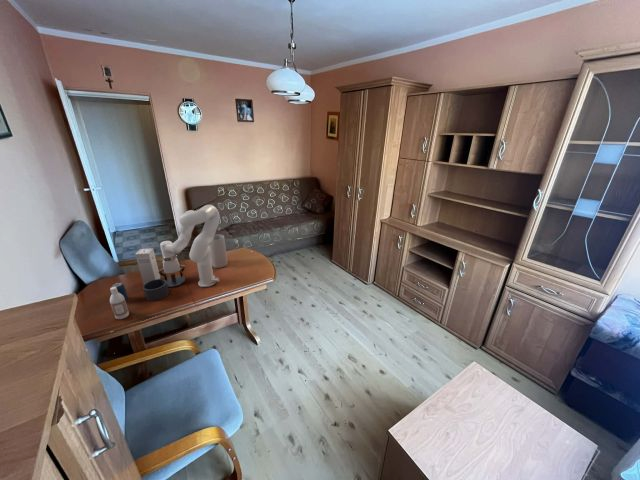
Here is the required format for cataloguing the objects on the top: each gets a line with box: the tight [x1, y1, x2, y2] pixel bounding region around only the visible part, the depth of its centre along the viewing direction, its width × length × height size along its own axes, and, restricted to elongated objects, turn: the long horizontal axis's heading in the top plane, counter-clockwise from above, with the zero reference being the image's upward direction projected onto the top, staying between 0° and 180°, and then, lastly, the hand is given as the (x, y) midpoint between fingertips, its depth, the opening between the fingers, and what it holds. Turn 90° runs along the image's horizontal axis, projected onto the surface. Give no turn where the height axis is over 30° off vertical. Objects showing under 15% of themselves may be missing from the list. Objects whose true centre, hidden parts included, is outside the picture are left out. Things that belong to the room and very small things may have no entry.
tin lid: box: [166, 272, 186, 288], centre depth 194 cm, size 15×15×7 cm
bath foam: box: [109, 287, 130, 320], centre depth 156 cm, size 7×7×20 cm
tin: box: [142, 278, 170, 302], centre depth 178 cm, size 14×14×8 cm
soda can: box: [110, 281, 129, 302], centre depth 172 cm, size 7×7×12 cm
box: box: [134, 247, 161, 285], centre depth 190 cm, size 8×8×25 cm
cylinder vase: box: [209, 233, 229, 269], centre depth 216 cm, size 12×12×25 cm
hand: (174, 278), depth 194 cm, fingers open, 9 cm apart
